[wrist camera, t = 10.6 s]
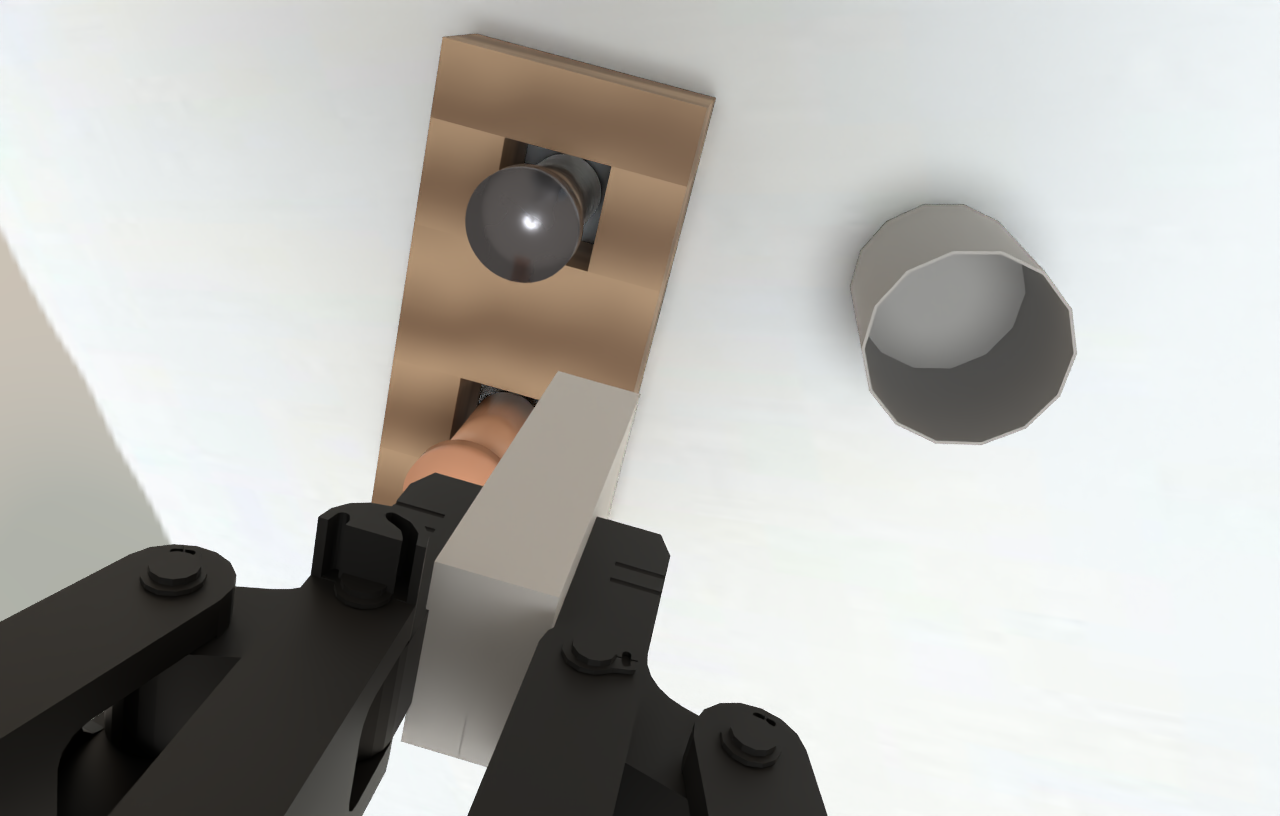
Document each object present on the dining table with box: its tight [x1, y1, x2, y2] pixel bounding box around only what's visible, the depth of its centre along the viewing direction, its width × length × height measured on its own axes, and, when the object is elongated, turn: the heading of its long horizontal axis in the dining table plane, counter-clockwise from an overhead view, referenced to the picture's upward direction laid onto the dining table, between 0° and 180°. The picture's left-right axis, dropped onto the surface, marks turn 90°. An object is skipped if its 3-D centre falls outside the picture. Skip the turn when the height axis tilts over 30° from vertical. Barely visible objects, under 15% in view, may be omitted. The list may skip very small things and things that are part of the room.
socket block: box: [372, 34, 716, 506], centre depth 51 cm, size 24×12×5 cm, turn 166°
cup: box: [850, 204, 1077, 445], centre depth 46 cm, size 8×8×10 cm
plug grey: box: [465, 154, 601, 283], centre depth 46 cm, size 5×5×9 cm
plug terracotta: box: [403, 392, 534, 492], centre depth 49 cm, size 5×5×9 cm
